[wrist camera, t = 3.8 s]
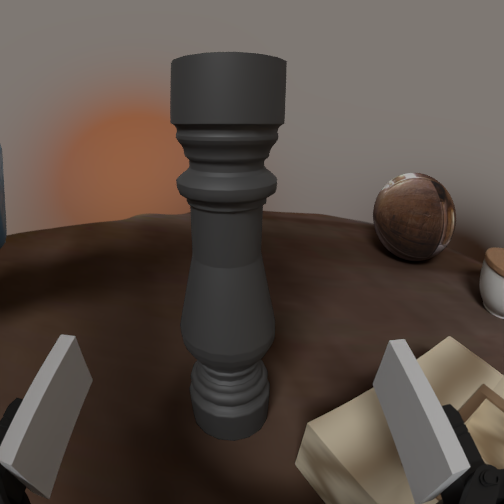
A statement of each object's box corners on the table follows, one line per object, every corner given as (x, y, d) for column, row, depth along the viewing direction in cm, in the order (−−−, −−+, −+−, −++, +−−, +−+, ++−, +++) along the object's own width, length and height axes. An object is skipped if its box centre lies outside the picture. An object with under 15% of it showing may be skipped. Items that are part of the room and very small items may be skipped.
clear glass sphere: (355, 239, 58) (365, 161, 52) (418, 239, 60) (431, 169, 53) (388, 279, 45) (407, 181, 39) (459, 275, 46) (480, 191, 40)
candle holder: (274, 392, 26) (299, 69, 16) (257, 448, 21) (280, 48, 10) (208, 377, 28) (197, 71, 17) (182, 428, 22) (140, 60, 12)
